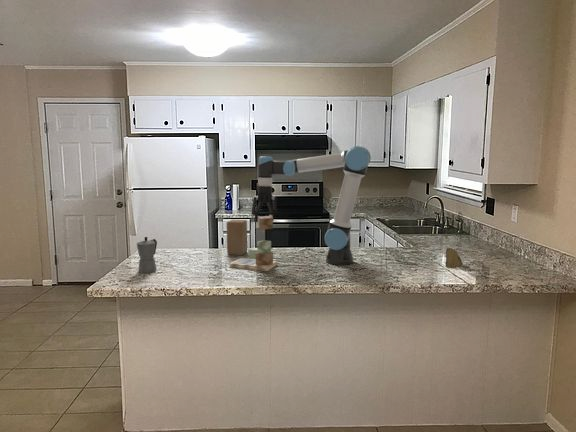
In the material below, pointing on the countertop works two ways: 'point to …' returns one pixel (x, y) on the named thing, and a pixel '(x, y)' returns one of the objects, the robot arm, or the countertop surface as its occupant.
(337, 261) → the robot arm
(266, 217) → the walnut block
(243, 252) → the block
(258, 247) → the tower
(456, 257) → the rock
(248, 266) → the blueprint board
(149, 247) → the coffeepot
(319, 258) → the countertop surface
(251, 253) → the sage block
